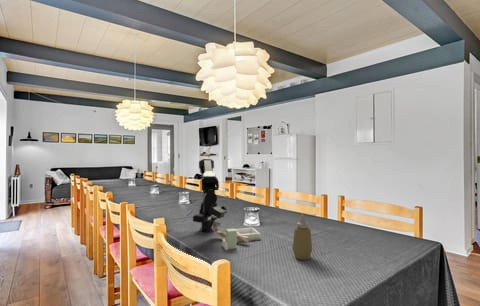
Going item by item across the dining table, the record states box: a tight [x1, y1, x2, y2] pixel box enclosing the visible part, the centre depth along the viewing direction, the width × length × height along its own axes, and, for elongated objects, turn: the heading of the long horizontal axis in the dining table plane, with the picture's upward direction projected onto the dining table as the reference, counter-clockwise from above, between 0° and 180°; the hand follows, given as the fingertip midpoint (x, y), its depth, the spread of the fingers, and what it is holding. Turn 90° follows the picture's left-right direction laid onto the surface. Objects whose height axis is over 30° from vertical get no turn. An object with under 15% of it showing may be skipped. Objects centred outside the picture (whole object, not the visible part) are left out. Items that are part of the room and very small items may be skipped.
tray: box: [234, 227, 262, 243], centre depth 140 cm, size 11×11×3 cm
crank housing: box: [221, 237, 240, 251], centre depth 130 cm, size 14×10×3 cm
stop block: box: [225, 227, 237, 250], centre depth 125 cm, size 4×4×8 cm
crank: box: [212, 221, 250, 243], centre depth 134 cm, size 22×3×6 cm, turn 59°
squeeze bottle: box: [292, 213, 313, 261], centre depth 114 cm, size 8×8×18 cm
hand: (208, 232), depth 134 cm, fingers closed
